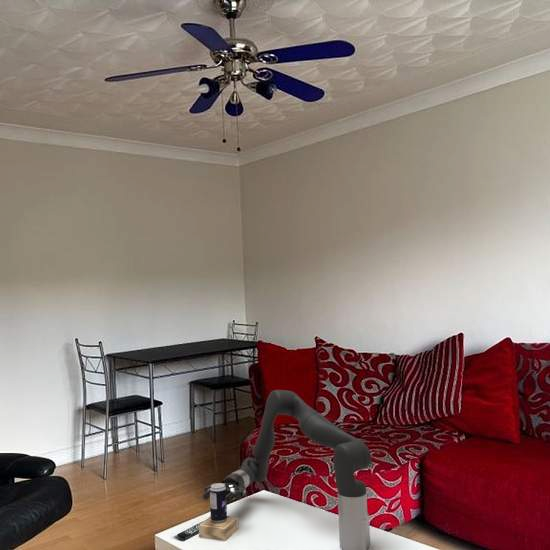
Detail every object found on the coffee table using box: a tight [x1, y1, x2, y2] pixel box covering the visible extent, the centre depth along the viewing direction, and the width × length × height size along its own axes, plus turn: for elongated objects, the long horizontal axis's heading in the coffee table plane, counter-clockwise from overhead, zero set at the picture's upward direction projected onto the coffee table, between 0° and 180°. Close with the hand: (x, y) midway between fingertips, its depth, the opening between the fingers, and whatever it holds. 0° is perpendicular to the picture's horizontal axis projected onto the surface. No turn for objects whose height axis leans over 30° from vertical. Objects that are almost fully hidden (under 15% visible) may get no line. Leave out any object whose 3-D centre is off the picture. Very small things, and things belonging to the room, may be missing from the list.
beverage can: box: [209, 482, 228, 523], centre depth 198 cm, size 6×6×12 cm
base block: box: [198, 515, 239, 542], centre depth 198 cm, size 10×10×4 cm
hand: (215, 498), depth 196 cm, fingers open, 8 cm apart
